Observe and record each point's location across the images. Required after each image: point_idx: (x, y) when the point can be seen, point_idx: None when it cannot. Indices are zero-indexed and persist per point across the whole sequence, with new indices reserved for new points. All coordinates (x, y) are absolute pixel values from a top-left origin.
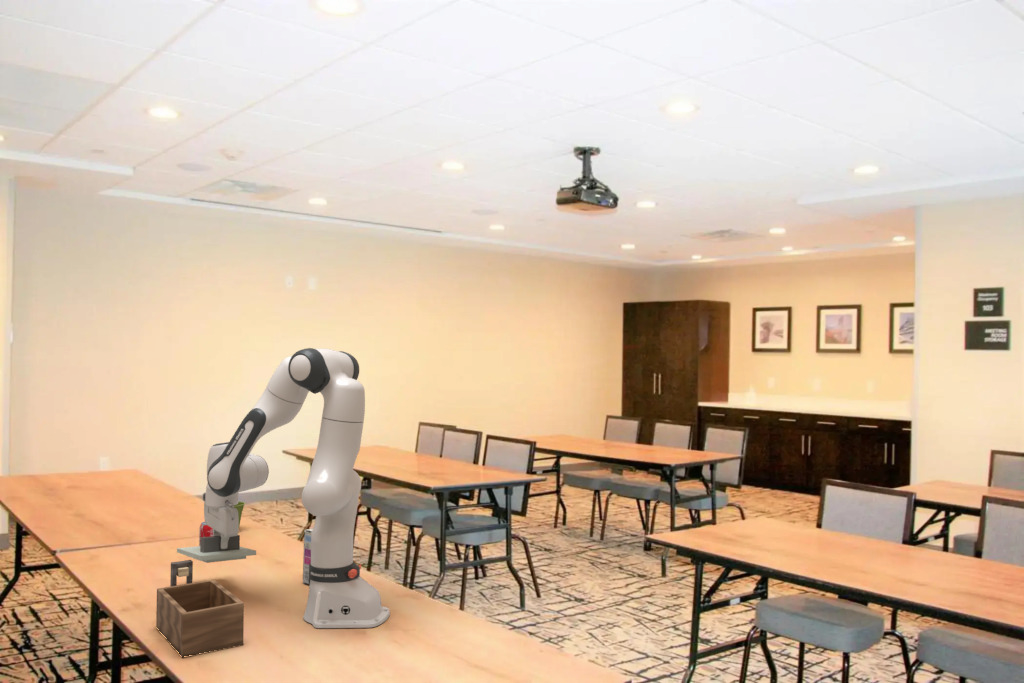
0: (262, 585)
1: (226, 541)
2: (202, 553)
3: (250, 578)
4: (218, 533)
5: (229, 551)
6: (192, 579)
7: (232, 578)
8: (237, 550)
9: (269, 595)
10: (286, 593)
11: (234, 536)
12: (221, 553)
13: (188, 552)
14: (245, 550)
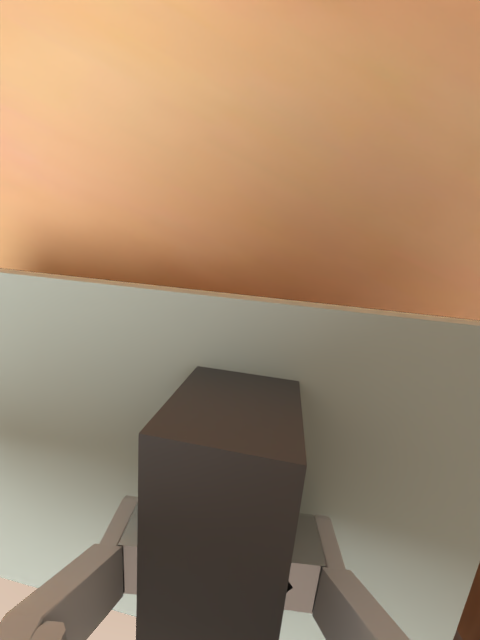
0: (213, 174)
1: (355, 592)
2: (290, 628)
3: (86, 171)
4: (75, 614)
5: (361, 491)
6: (457, 631)
7: (48, 232)
8: (360, 427)
9: (359, 212)
10: (388, 140)
11: (294, 519)
12: (428, 581)
13: (131, 610)
14: (431, 388)
